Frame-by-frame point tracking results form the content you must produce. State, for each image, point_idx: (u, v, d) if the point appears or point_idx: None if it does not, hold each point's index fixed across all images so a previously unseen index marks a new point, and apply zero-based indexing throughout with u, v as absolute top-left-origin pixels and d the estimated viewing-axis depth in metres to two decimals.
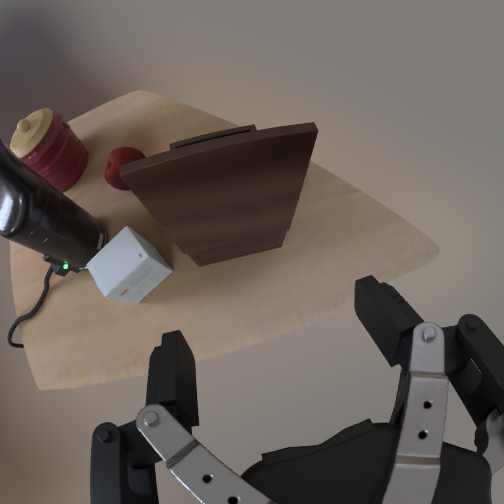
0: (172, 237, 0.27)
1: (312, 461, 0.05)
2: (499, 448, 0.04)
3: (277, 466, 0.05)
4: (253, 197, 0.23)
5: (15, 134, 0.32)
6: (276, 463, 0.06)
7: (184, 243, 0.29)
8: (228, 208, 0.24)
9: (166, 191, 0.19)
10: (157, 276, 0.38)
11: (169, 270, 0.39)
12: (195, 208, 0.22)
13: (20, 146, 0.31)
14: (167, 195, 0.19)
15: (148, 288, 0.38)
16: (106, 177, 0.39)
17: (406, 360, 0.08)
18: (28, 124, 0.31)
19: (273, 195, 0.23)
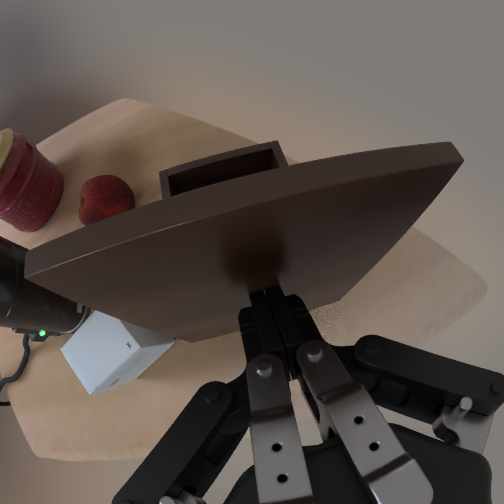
0: (169, 334, 0.16)
1: (312, 461, 0.05)
2: (471, 432, 0.05)
3: None
4: (308, 280, 0.13)
5: None
6: None
7: (189, 336, 0.18)
8: None
9: (138, 294, 0.08)
10: (156, 354, 0.27)
11: (171, 343, 0.29)
12: (203, 307, 0.12)
13: None
14: (144, 299, 0.09)
15: (145, 366, 0.28)
16: (80, 217, 0.29)
17: (298, 375, 0.09)
18: None
19: (340, 272, 0.13)
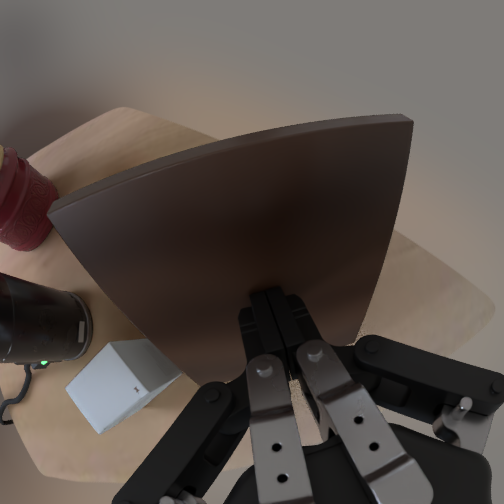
0: (175, 361, 0.15)
1: (312, 461, 0.05)
2: (471, 432, 0.05)
3: None
4: (308, 286, 0.13)
5: None
6: None
7: (196, 371, 0.17)
8: None
9: (140, 265, 0.09)
10: (163, 388, 0.25)
11: (178, 376, 0.27)
12: (204, 309, 0.12)
13: None
14: (145, 276, 0.10)
15: (152, 398, 0.26)
16: None
17: (298, 375, 0.09)
18: None
19: (341, 280, 0.13)
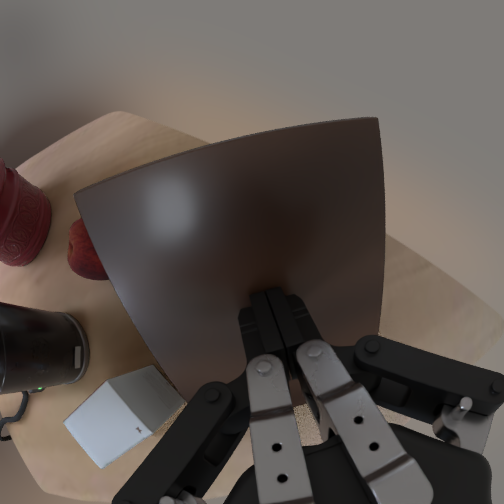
0: (177, 386, 0.14)
1: (312, 461, 0.05)
2: (471, 432, 0.05)
3: None
4: (309, 293, 0.13)
5: None
6: None
7: None
8: None
9: (146, 253, 0.11)
10: None
11: None
12: (206, 314, 0.12)
13: None
14: (150, 267, 0.11)
15: None
16: (70, 265, 0.25)
17: (298, 375, 0.09)
18: None
19: (342, 289, 0.13)
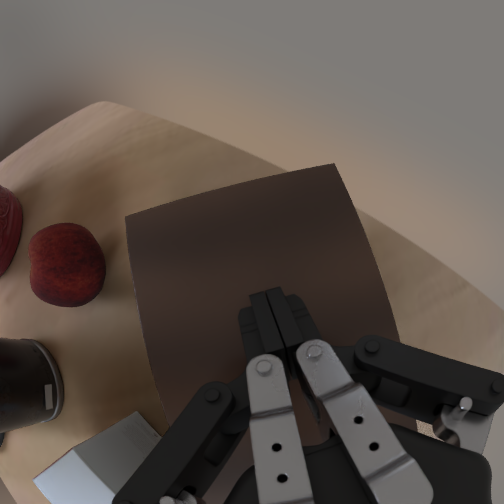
0: None
1: (312, 461, 0.05)
2: (471, 432, 0.05)
3: None
4: (309, 307, 0.13)
5: None
6: None
7: None
8: None
9: (167, 261, 0.14)
10: None
11: None
12: (210, 325, 0.13)
13: None
14: (168, 273, 0.14)
15: None
16: None
17: (298, 375, 0.09)
18: None
19: (344, 304, 0.13)
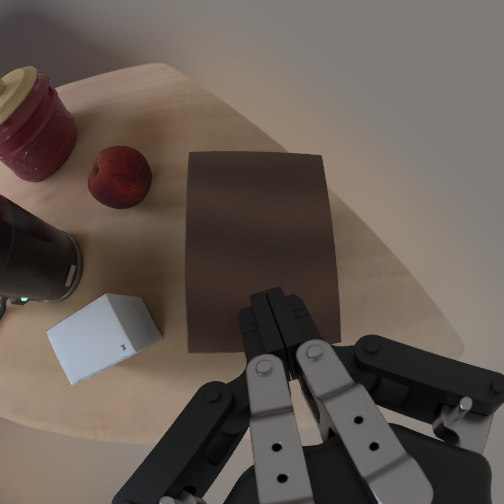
0: (188, 280, 0.22)
1: (312, 461, 0.05)
2: (471, 431, 0.05)
3: None
4: (286, 227, 0.24)
5: None
6: None
7: (196, 308, 0.21)
8: (261, 238, 0.23)
9: (211, 183, 0.24)
10: None
11: (158, 341, 0.28)
12: (228, 222, 0.23)
13: None
14: (210, 189, 0.23)
15: None
16: (89, 186, 0.26)
17: (298, 375, 0.09)
18: (2, 87, 0.17)
19: (306, 231, 0.24)
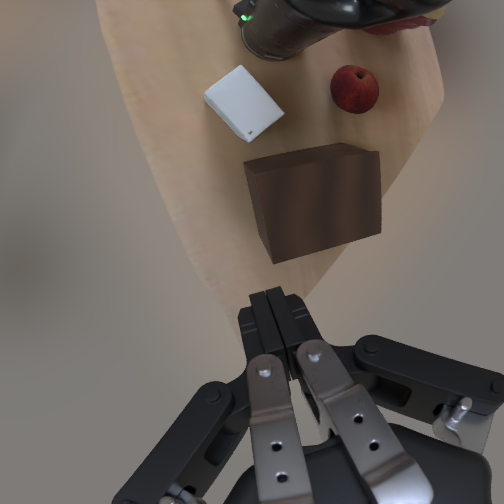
0: (301, 166, 0.33)
1: (312, 461, 0.05)
2: (471, 431, 0.05)
3: None
4: (337, 218, 0.37)
5: None
6: None
7: (285, 175, 0.33)
8: (330, 205, 0.36)
9: (360, 169, 0.34)
10: None
11: (238, 136, 0.37)
12: (338, 184, 0.34)
13: None
14: (356, 169, 0.34)
15: (219, 115, 0.35)
16: (347, 69, 0.31)
17: (298, 375, 0.09)
18: None
19: (336, 230, 0.38)
